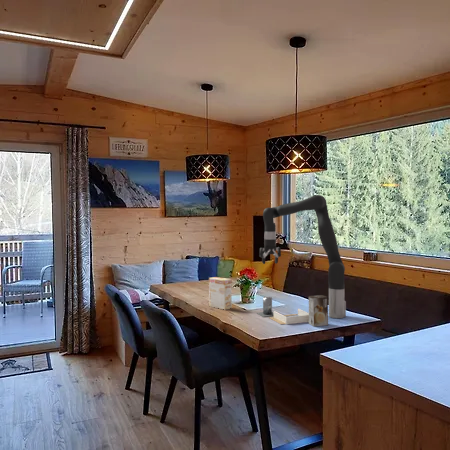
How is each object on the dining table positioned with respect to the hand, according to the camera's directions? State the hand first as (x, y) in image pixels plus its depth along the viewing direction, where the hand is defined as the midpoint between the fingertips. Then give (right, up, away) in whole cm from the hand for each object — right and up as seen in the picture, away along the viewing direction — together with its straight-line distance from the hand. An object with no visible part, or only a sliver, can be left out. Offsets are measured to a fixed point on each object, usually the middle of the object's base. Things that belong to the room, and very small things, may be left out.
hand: (270, 263), depth 279 cm
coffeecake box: (-32, -30, +9) cm, 45 cm away
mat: (-3, -31, -12) cm, 33 cm away
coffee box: (+23, -32, -35) cm, 53 cm away
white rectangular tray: (+11, -31, -23) cm, 40 cm away
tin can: (-3, -30, -11) cm, 32 cm away
